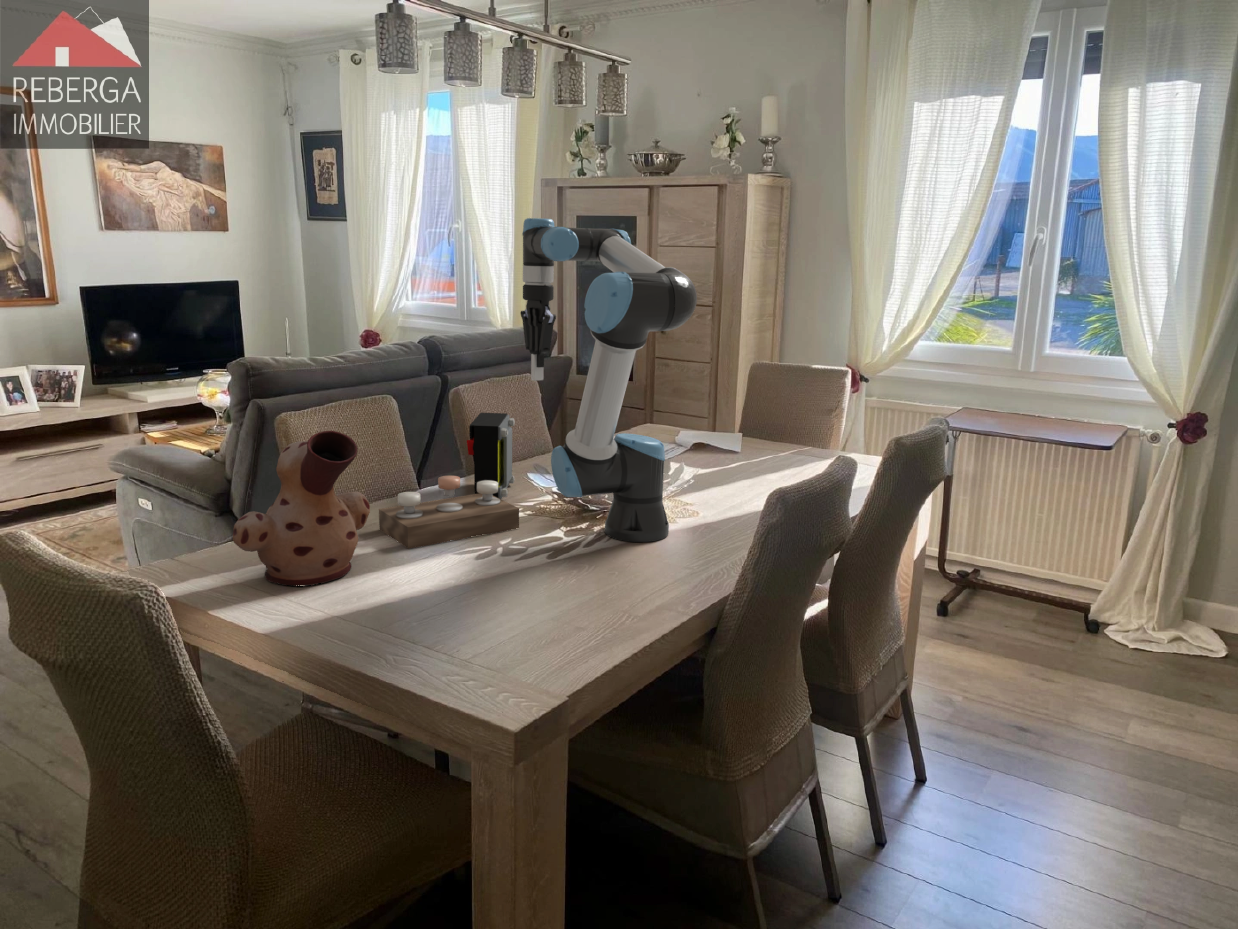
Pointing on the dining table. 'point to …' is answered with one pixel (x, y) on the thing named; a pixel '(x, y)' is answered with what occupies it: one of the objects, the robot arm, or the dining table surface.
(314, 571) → the vessel
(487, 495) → the right knob
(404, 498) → the left knob
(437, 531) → the knob bar
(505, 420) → the electrical component
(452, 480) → the middle knob
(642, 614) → the dining table surface
